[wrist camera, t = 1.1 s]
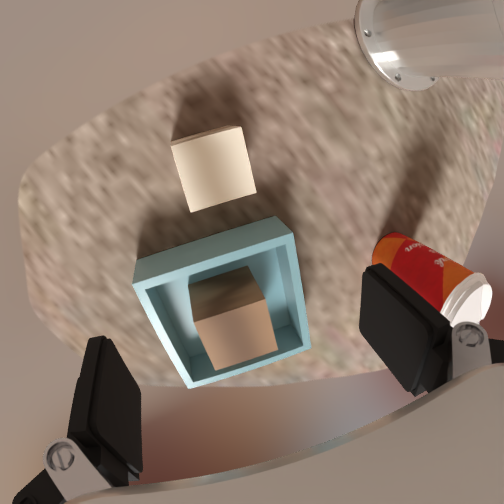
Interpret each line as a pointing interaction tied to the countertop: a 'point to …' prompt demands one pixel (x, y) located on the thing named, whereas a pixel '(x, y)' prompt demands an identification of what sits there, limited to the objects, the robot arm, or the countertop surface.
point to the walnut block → (232, 317)
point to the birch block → (213, 167)
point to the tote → (214, 263)
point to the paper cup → (436, 278)
